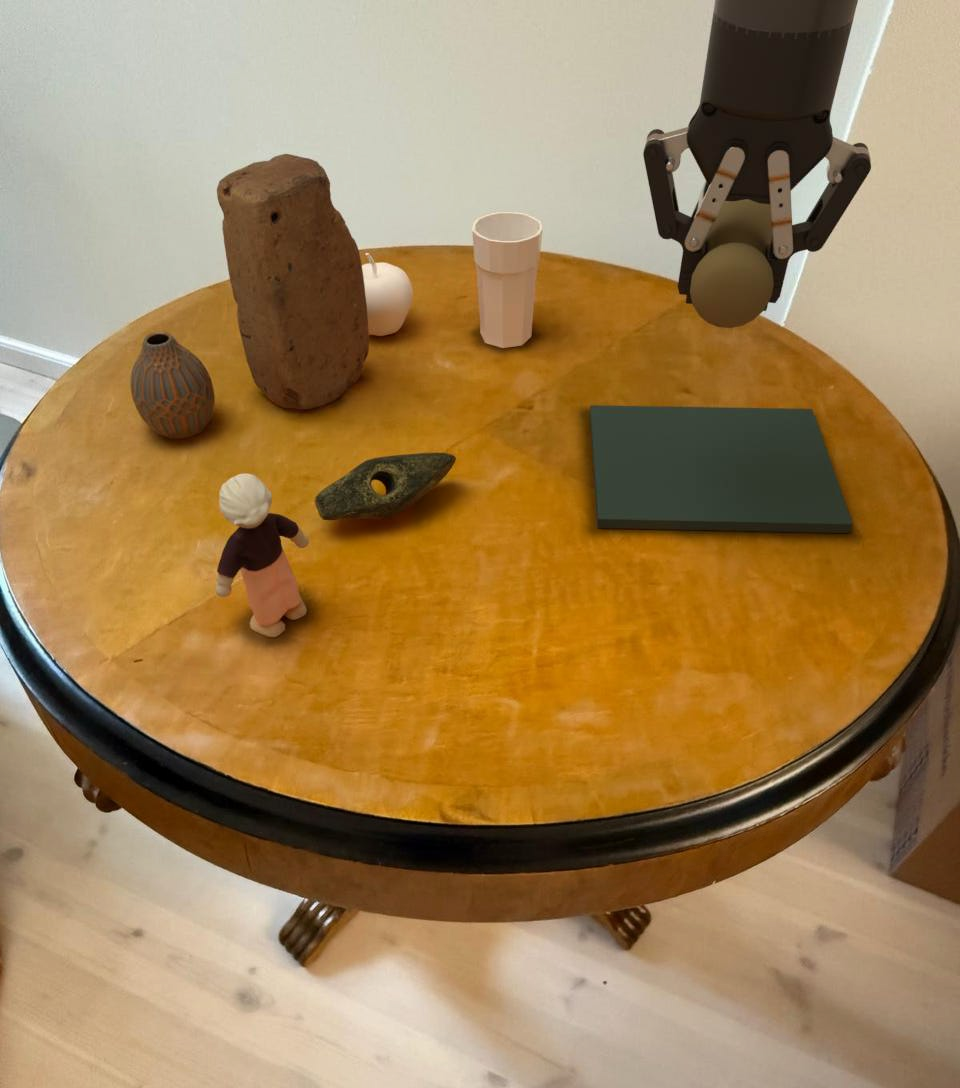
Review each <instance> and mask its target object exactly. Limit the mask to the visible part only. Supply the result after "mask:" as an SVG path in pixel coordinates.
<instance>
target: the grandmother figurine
mask: <svg viewBox="0 0 960 1088" xmlns="http://www.w3.org/2000/svg"><path fill="white" fill-rule="evenodd" d="M218 494H219V496H218V498H219V499H218V500H219V502H218V506H219V510H220V512H221V513H222V515H223V516H224V518H225V519H226V521H228V523H231V524H233V525H234V526H236V527H238V528H236V530H235V531H234V532H232V534H231V535H230V536H229V537H228V539H227V541H226V543H225V545H224V547H223V550H222V553H221V556H220V559H219V562H218V565H217V568H216V572H217V577H216V581H217V583H216V585H215V587H214V590H215V593H216V594H217V596H219V597H222V598H225V597H228V596H230V595H231V594H232V585H233V583H234V579H235V577H236V576H237V575H238V573H239V572H240V574H241V577H242V580H243V583H244V587H245V592H246V599H247V602H248V607H249V608H250V609H251V611H252V614H253V615H252V616H251V617H250V620H249V627H250V629H251V630H252V631H254V632H255V633H257V634H260V635H263V636H264V637H268V638H276V637H279V636H280V635H281V634H282V633H284V632H285V630H286V624H285V623H284V621H282V620H281V618H283V616H285V618H287V619H289V620H291V621H292V620H298V619H301V618H303V617H304V616H305V615H306V614H307V612H308V609H307V606H306V604H305V603H304V601H303V598H302V596H301V594H300V591H299V585H298V583H297V579H296V576H295V574H294V572H293V569H292V568H291V567H292V566H291V565H290V562H289V560H288V557H287V555H286V553H285V551H284V548H283V546H282V539H281V537H283V538H286V539H289V540H290V541H291V542H293V543H294V544H295V546H296V547H297V548H300V549H304V548H306V547H308V545H309V544H310V538H309V536H308V535H307V534H306V533H304V531H303V530H302V529H301V528H300V527H299V525H298V524H297V522H295V521H294V520H291V519H290V518H288V517H287V516H284V515H282V514H279V513H273V512H270V509H271V506H272V504H273V501H272V499H273V496H272V492H271V491H270V490H269V489H268V488H267V486H266V485H265V484H264V483H263V481H262V480H261V479H260V478H258V477H257V476H256V475H255V474H253V473H252V474H251V473H239V474H237V475H234V476H232V477H230V478H229V479H228V480H226V482H224V483H223V484H222V485H221V488H220V489H219V493H218Z"/></svg>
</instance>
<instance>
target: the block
mask: <svg viewBox="0 0 960 1088" xmlns="http://www.w3.org/2000/svg"><path fill="white" fill-rule="evenodd" d="M331 195H332V194H331V181H330V179H329V177H328V174H327V172H326V170H325V168H324V167H323V166H322V165H321V164H320V163H319V162H318V161H317V160H314V159H311V158H309V157H303V156H300V155H299V156H298V155H296V154H295V155H294V154H290V153H283V154H278V155H274V157H272V158H270V159H269V160H262V161H255V162H254V161H253V162H252V163H249V164H248V165H246V166H244V167H241V168H239V169H237V170H234V171H232V172H229V173H228V174H227V175H225V176H224V177H223V178H221V179H220V180H219V181H218V184H217V187H216V197H217V198H216V199H217V202H218V205H219V208H220V209H221V211H222V214H223V219H222V226H221V227H222V228H221V230H222V234H223V236H222V237H223V244H224V251H225V257H226V263H227V270H228V276H229V281H230V286H231V290H232V295H233V299H234V301H235V303H236V306H237V308H236V317H237V325H238V329H239V334H240V338H241V343H242V346H243V351H244V355H245V360H246V362H247V365H248V368H249V371H250V374H251V377H252V379H253V382H254V384H255V385H256V387H258V389H259V390H260V391H261V392H262V394H264V396H265V397H266V398H268V399H269V400H270V401H271V402H273V403H274V404H275V405H276V406H277V405H278V406H279V407H281V408H285V409H295V410H296V409H297V410H298V409H299V410H311V409H313V408H319V407H322V406H324V405H325V406H326V405H327V404H330V403H332V402H333V401H335V400H336V399H338V398H340V396H341V395H342V394H343V393H344V392H345V391H346V390H347V389H349V388H351V387H352V386H353V385H354V384H356V382H357V383H358V381H359V379H360V377H361V374H362V372H363V368H364V364H365V361H366V359H367V357H368V355H369V351H370V335H369V329H368V316H367V305H366V296H365V285H364V277H363V271H362V265H363V264H362V259H361V255H360V250H359V247H358V244H357V242H356V240H355V239H354V238H353V236H352V234H351V231H350V229H349V227H348V225H347V224H346V220H345V218H344V217H343V215H342V213H341V212H340V211H339V210H337V209H336V207H334V204H333V202H332V197H331Z"/></svg>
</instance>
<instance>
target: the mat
mask: <svg viewBox="0 0 960 1088" xmlns="http://www.w3.org/2000/svg"><path fill="white" fill-rule="evenodd" d="M589 426H590V442H591V443H590V444H591V457H592V472H593V486H594V503H595V515H596V528H597V529H620V530H622V529H623V530H624V529H626V530H631V529H632V530H664V531H665V530H666V531H667V530H670V531H672V530H675V531H715V532H716V531H717V532H718V531H719V532H720V531H721V532H723V531H724V532H761V533H762V532H765V533H767V532H772V533H775V532H776V533H811V534H812V533H817V534H823V533H824V534H850V532H851V529H852V527H853V521H852V518H851V515H850V512H849V509H848V506H847V504H846V501H845V498H844V495H843V492H842V490H841V487H840V484H839V481H838V478H837V475H836V473H835V470H834V466H833V464H832V461H831V458H830V455H829V453H828V450H827V447H826V443H825V441H824V439H823V436H822V432H821V430H820V427H819V425H818V422H817V418H816V416H815V413H814V410H813V408H785V407H784V408H781V407H779V408H777V407H723V406H722V407H717V406H713V407H711V406H657V405H656V406H654V405H652V406H651V405H603V404H602V405H598V404H597V405H592V404H591V405H590V407H589Z"/></svg>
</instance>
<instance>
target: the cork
mask: <svg viewBox="0 0 960 1088" xmlns="http://www.w3.org/2000/svg"><path fill="white" fill-rule="evenodd" d="M771 241H772V224H771V208H770V204H761V203H757V202H754V201H752V200H749V199H744V200H739V201H724V204H723V206H722V208H721V210H720V212H719V214H718V217H717V218H716V220H715V221H714V223H713V225H712V227H711V229H710V231H709V233H708V235H707V238H706V245H705V254H704V257H703V259H702V260H701V261H700V262H699V263H698V265H697V267H696V269H695V271H694V273H693V275H692V280H691V287H690V295H691V300H692V304H691V305H692V306H693V308H694V309H695V311H696V313H697V315H698V316H699V317H700V318H701V319H702V320H704V321H705V322H706V324H709V325H712V326H714V327H717V328H722V329H723V328H724V329H734V328H738V327H743V326H746V325H747V324H749V323H751V322H753V321H754V320H755V319H757V318H758V317H759V316H760V315H761V314H762V313H763V312H764V311H763V310H764V309H765V307H766V305H767V303H768V302H769V300H770V298H771V295H772V290H773V286H774V284H773V274H772V268H771V266H770V264H769V263H768V261H767V259H766V252H767V244H771ZM768 304H769V303H768Z"/></svg>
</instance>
